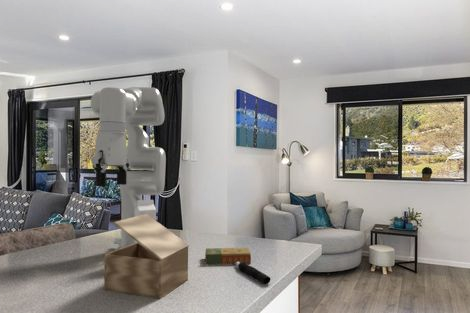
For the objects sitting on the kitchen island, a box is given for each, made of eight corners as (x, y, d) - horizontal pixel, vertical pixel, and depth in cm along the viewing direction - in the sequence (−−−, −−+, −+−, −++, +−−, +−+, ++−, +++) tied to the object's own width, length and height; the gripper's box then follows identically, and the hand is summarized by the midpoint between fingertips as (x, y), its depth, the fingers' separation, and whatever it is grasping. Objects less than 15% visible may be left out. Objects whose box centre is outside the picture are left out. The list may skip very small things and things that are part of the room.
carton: (250, 265, 131) (251, 252, 131) (205, 265, 130) (205, 253, 130) (248, 258, 139) (248, 247, 139) (205, 259, 138) (205, 247, 138)
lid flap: (113, 223, 103) (114, 222, 103) (145, 215, 118) (146, 213, 118) (161, 260, 98) (162, 258, 98) (188, 246, 113) (189, 245, 113)
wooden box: (104, 290, 104) (104, 254, 104) (137, 273, 119) (137, 242, 119) (160, 298, 98) (161, 261, 98) (187, 280, 113) (188, 247, 113)
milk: (155, 263, 131) (156, 200, 131) (138, 265, 128) (139, 201, 128) (150, 258, 136) (151, 198, 136) (133, 260, 133) (134, 199, 133)
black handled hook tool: (230, 267, 128) (230, 258, 128) (240, 265, 130) (240, 257, 130) (263, 286, 109) (263, 276, 109) (274, 284, 111) (275, 274, 111)
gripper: (119, 131, 122) (119, 183, 122) (82, 126, 106) (81, 186, 106) (139, 131, 120) (138, 184, 120) (103, 126, 103) (102, 187, 103)
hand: (111, 185), depth 113 cm, fingers open, 9 cm apart
